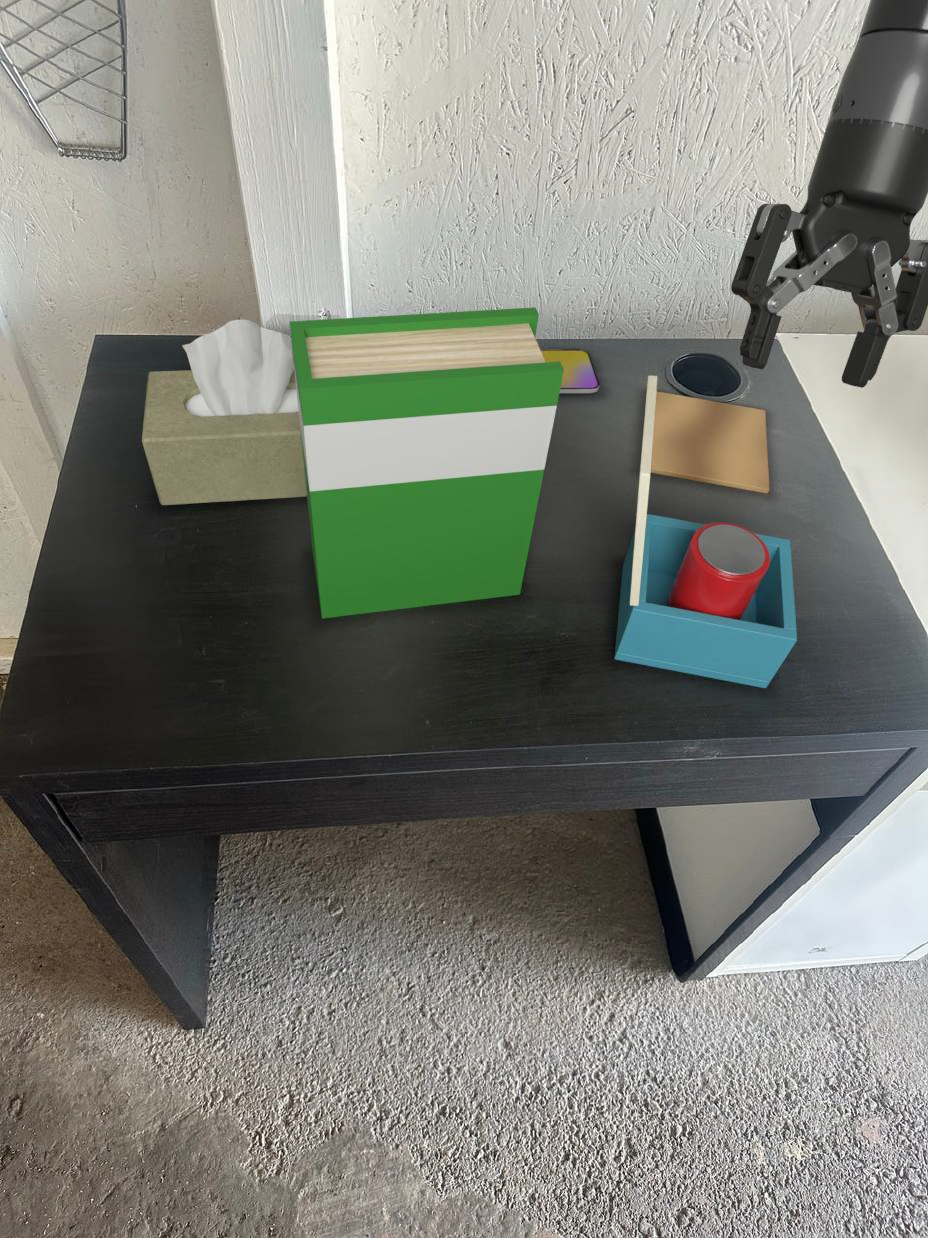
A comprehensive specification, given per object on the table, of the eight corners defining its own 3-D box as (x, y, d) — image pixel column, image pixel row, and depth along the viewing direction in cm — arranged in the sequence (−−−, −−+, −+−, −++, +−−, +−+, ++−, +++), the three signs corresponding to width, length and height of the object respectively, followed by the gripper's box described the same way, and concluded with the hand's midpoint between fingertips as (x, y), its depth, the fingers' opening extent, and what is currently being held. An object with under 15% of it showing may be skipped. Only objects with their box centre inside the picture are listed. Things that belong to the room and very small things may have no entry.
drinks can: (729, 607, 76) (769, 527, 68) (729, 663, 72) (773, 585, 64) (660, 594, 77) (692, 513, 68) (657, 649, 73) (691, 570, 65)
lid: (657, 375, 63) (648, 374, 64) (650, 474, 57) (639, 473, 57) (645, 509, 74) (637, 508, 74) (638, 606, 67) (629, 605, 67)
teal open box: (762, 591, 79) (790, 539, 74) (766, 688, 72) (797, 640, 67) (622, 565, 80) (640, 512, 74) (614, 659, 73) (632, 609, 67)
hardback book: (500, 534, 81) (535, 307, 62) (519, 594, 77) (563, 369, 58) (312, 554, 78) (289, 321, 59) (322, 618, 73) (299, 388, 54)
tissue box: (350, 428, 89) (345, 289, 76) (359, 494, 83) (354, 355, 70) (162, 437, 86) (124, 294, 73) (157, 507, 80) (115, 364, 67)
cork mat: (763, 414, 95) (765, 409, 95) (767, 493, 87) (769, 489, 87) (647, 393, 96) (649, 389, 95) (641, 471, 88) (642, 466, 87)
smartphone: (601, 389, 95) (467, 389, 93) (600, 394, 95) (466, 395, 93) (588, 349, 99) (459, 349, 97) (587, 354, 100) (459, 354, 98)
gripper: (828, 95, 51) (743, 370, 58) (1017, 148, 55) (917, 401, 61) (764, 106, 58) (694, 352, 64) (937, 153, 61) (854, 381, 68)
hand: (803, 376), depth 63 cm, fingers open, 8 cm apart
